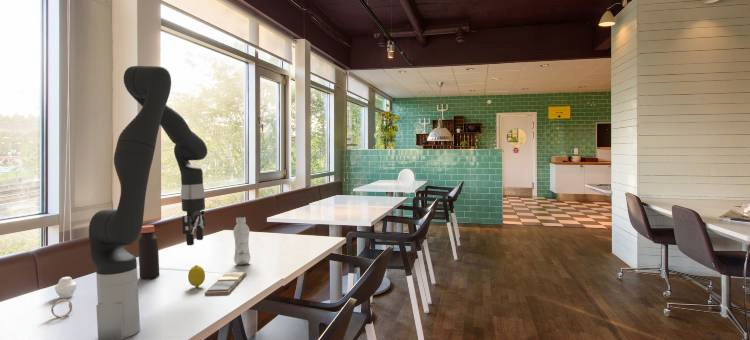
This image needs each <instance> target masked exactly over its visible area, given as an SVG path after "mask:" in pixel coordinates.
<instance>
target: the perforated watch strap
mask: <svg viewBox="0 0 750 340" xmlns="http://www.w3.org/2000/svg"><path fill="white" fill-rule="evenodd" d="M64 301H66V302H69V303H68V308H69V310H68V311H67V312H66V313H65V314H63V315H58V314H55V312H54V307H55V306H56V305H57V304H58V303H60V302H64ZM72 311H73V304H72V302H71V301H70V300H68V299H67V298H62V299H58V300H57V301H56V302H54V303H53V304H52V306H51V309H50V313H52V315H53V316H54V317H56V318H64V317H66V316H68V315H69V314H71V313H72Z"/></svg>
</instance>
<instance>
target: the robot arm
mask: <svg viewBox="0 0 750 340" xmlns="http://www.w3.org/2000/svg"><path fill="white" fill-rule="evenodd" d="M123 85H124V87H125V89H126V91H127V92H128V93H129V95H131V96H132V98H133V99H134V100H135V101H136V102H137V103H138V104H140V106H141V107H142V108H141V109H140V110H139V112H138V113H137V115H136V116H135V117H133V119H132V120H131V121H130V122H129V123H128V124H127V125H126V126H125V127H124V129H123V130H122V131H121V133H120V134H119V135H118V139H117V142H116V146H115V151H114V155H113V164H114V169H115V172H116V175H117V177H118V181H119V186H120V196H119V201H118V205H117V209H101V210H99V211H97V212H95V214H94V215H93V216H92V217H91V219H90V221H89V225H88V239H89V248H90V249H89V250H90V257H91V262H92V263H93V266H94V267H95V274H96V275H95V276H96V291H97V292H96V293H97V296H96V297H97V304H96V307H95V308H96V321H97V323H96V324H97V339H98V340H125V339H127V338H129V337H132V336H133V335H136V334H137V333H139V332H140V330H141V320H140V318H141V317H140V300H139V299H140V298H139V283H138V282H139V281H138V263H137V262H138V261H137V257H136V256H135V255H133V254H132V253H131V252H128V250H127V249H126V248H125V246H130V245H132V244H133V243H135V242H136V241H138V239H139V238H140V236H141V233H140V232H141V229H142V226H143V223H144V214H145V205H146V204H145V203H146V195H147V190H148V189H147V188H148V182H149V178H150V172H151V167H152V163H153V158H154V155H155V150H156V145H157V138H158V134H159V130H160V127H161V128H162V130H163V131H164V132H165V134H166V135H167V136H168V138H169V140H170V141H171V142H172V143H173V144H174V148H173V153H174V157H175V160H176V162H177V165H178V169H179V171H180V180H181V182H180V183H181V189H180V194H181V195H180V197H181V198H180V200H181V210H182V212H186V215H183V216H182V218H181V219H182V220H181V222H182V234H184V235H185V236H186V237H185V238H186V239H185V240H186V245H187V246H193V245H195V239H194V238H195V237H194V234H195V236H196V241H203V240H204V228H205V227H206V214H205V209H206V199H205V198H206V197H205V187H204V177H203V175H204V174H203V169H202V168H201V167H197V166H193V165H192V164H191V162H190V161H201V160H204V159H205V158H206V156H207V154H208V148H207V147H208V146H207V145H206V143H205V142H204V140H203V139H202V138H201V137H199V135H197V134H196V133H195V132H194V131H192V130H191V128H190V126H189V125H188V123H187V122H186V120H185V119H184V117H183V116H182V115H181V114H180V113H178V111H176V110H175V109H174V108H172V107H171V106H169V105H167V103H168V101H169V96H170V93H171V87H172V78H171V72H170V71H169V70H168V69H167V68H166V67H164V66H158V65H132V66H129V67H127V68H126V70H125V71H124V74H123ZM194 232H196V233H194Z"/></svg>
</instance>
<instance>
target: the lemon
mask: <svg viewBox="0 0 750 340" xmlns="http://www.w3.org/2000/svg"><path fill="white" fill-rule="evenodd" d="M187 279H188V283H189V284H190V285H191V286H194V287H195V288H199V286H201V285H202V284H204V282H205V279H206V274H205V270H204V268H203V267H202V266H199V265H197V264H196V265H194V266H192V267H190V269H189V271H188V275H187Z"/></svg>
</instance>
